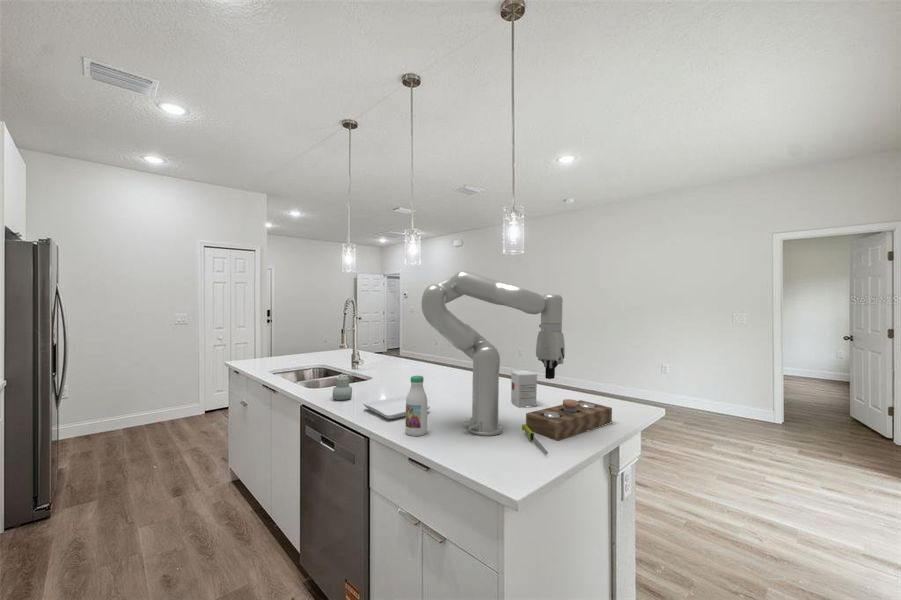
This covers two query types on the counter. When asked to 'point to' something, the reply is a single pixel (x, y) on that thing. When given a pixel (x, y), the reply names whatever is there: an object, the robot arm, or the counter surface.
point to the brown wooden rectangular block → (568, 420)
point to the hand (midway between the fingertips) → (549, 378)
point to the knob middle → (570, 406)
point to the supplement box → (523, 388)
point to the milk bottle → (416, 408)
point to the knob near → (552, 415)
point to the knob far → (587, 405)
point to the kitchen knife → (533, 438)
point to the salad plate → (389, 407)
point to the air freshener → (342, 389)
